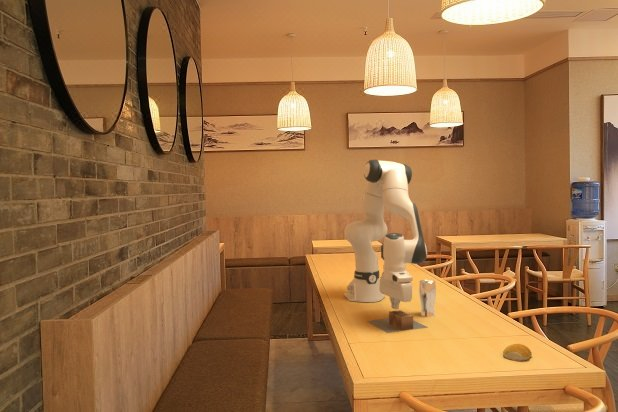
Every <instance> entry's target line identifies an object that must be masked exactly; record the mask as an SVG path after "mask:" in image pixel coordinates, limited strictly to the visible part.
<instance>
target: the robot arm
mask: <svg viewBox="0 0 618 412" xmlns="http://www.w3.org/2000/svg"><path fill="white" fill-rule="evenodd" d="M363 176H364V179H365V180H366V181H367V182H366V185H365V189H364V192H363V198H362V201H361V209H362V211H364V219H361V220H355V221H352V222H349V223H347V225H346V226H345V228H344V237H345V239H346V241H347V242H349V244H351V247H352V249H353V252H354V257H355V258H354V259H355V261H354V262H355V270H354V273H353V279H352V280H351V281H350V282H349V283H348V285H347V286H346V289H347V292H344V293H343V296H344V297H345V298H346V299H348V301H349V302H360V303H375V302H376V303H377V302H379V301H382V300H383V299H385V297H386V296H388V297H389V302H390V304H391V305H390V306H391V309H394V310H400V303H401V302H402V303H407V302H408V303H409V302H411V301H412V299H413V285H412V282H413V279H414V278H413V276H412V274H410V273H409V271H407V269H406V268H407V264H415V265H421V264H423V263H424V262H425V261H426V260H427V257H428V248H427V245H426V242H425V238H424V234H423V229H422V225H421V219H420V213H419V211H418V207H417V205H416V203H414V202H412V200H411V199H410V195H409V185H410V183H411V181H412V177H413V171H412V169H411V167H410V166H409V165H407V164H405V163H399V162H397V161H396V162H395V161H389V160H378V159H369V160H368V161H367V162H366V164H365V166H364V171H363ZM385 208H386V209H387V211H389V212H391V213H392V214H394V215H398V216H400V217H403V218H405V219H407V220H408V221H409V223H410V225H411V226H410V227H411V232H412V235H413V236H412V237H413V238H412V239H405V237H404V235H403V234H402V233H398V232H391V233H388V229H389V228H388V226H387V224H386V222H385V220H384V219H385V217H384V216H385V215H384V211H385ZM382 239H383V243H382V244H381V245H380V255H381V256H380V258H381V259H382V260H383V262H384V263H383V271H382V273H380V270H379V255H378V252H376V251H375V250H374V248H373V245H372V242H379V241H380V240H382ZM380 275H381V276H380Z"/></svg>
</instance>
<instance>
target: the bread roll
mask: <svg viewBox="0 0 618 412" xmlns="http://www.w3.org/2000/svg"><path fill="white" fill-rule="evenodd" d="M532 353H533V352H532V351H531V350H530V348H529V347H528V346H526V345H524V344H521V343H515V344H510V345H508V346H506V347H505V348H504V350H503V351H502V355H503V357H504V358H506V359H508V360H511V361H512V360H513V361H515V362H516V361H519V362H523V361H527V360H529V359H530V358H531V356H532Z"/></svg>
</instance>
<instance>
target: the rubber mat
mask: <svg viewBox="0 0 618 412" xmlns="http://www.w3.org/2000/svg"><path fill="white" fill-rule="evenodd" d="M366 323H369V324H370V325H372V326H374V327H376V328H378V329H379V330H381V331H383V332H385V333H386V334H390V333H397V332H398V333H399V332H405V331H407V330H400V329H398V328H396V327H394V326H392V325H390V324H389V317H388V318H380V319H372V320H366ZM426 328H427V329H428V328H429V327H428V326H427V325H424V324H422V323H420V322H418V321H416V320H414V319H413V329H409V330H408V331H411V330H418V329H426Z"/></svg>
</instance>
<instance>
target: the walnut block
mask: <svg viewBox="0 0 618 412" xmlns="http://www.w3.org/2000/svg"><path fill="white" fill-rule="evenodd" d="M388 318H389V324H390V325H392V326H394V327H396V328H398V329H400V330H406V331H410V330H409V329H413V320H414V315H411V314H409V313H407V312H405V311H403V310H400V309H397V310H392V311H391V310H390V311H388ZM413 330H414V329H413Z"/></svg>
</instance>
